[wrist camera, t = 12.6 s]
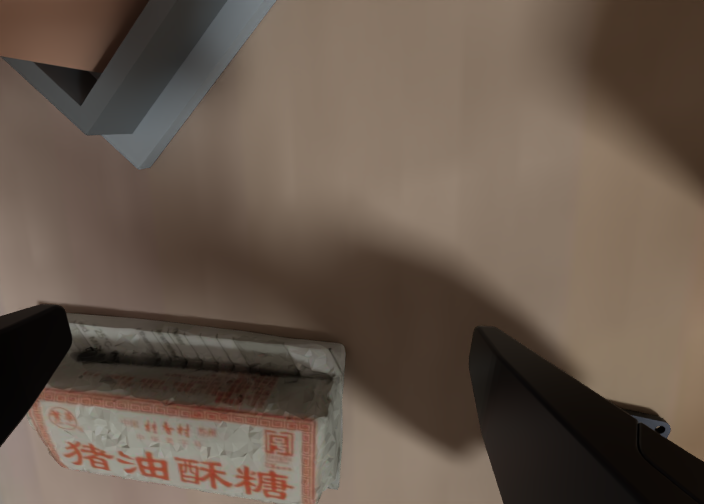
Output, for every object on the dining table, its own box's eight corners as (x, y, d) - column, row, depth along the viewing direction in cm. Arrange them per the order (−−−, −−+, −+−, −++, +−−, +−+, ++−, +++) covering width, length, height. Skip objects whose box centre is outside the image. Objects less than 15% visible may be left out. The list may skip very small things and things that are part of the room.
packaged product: (334, 387, 19) (328, 548, 22) (348, 335, 23) (342, 474, 26) (-20, 346, 21) (20, 499, 24) (58, 305, 25) (83, 438, 28)
